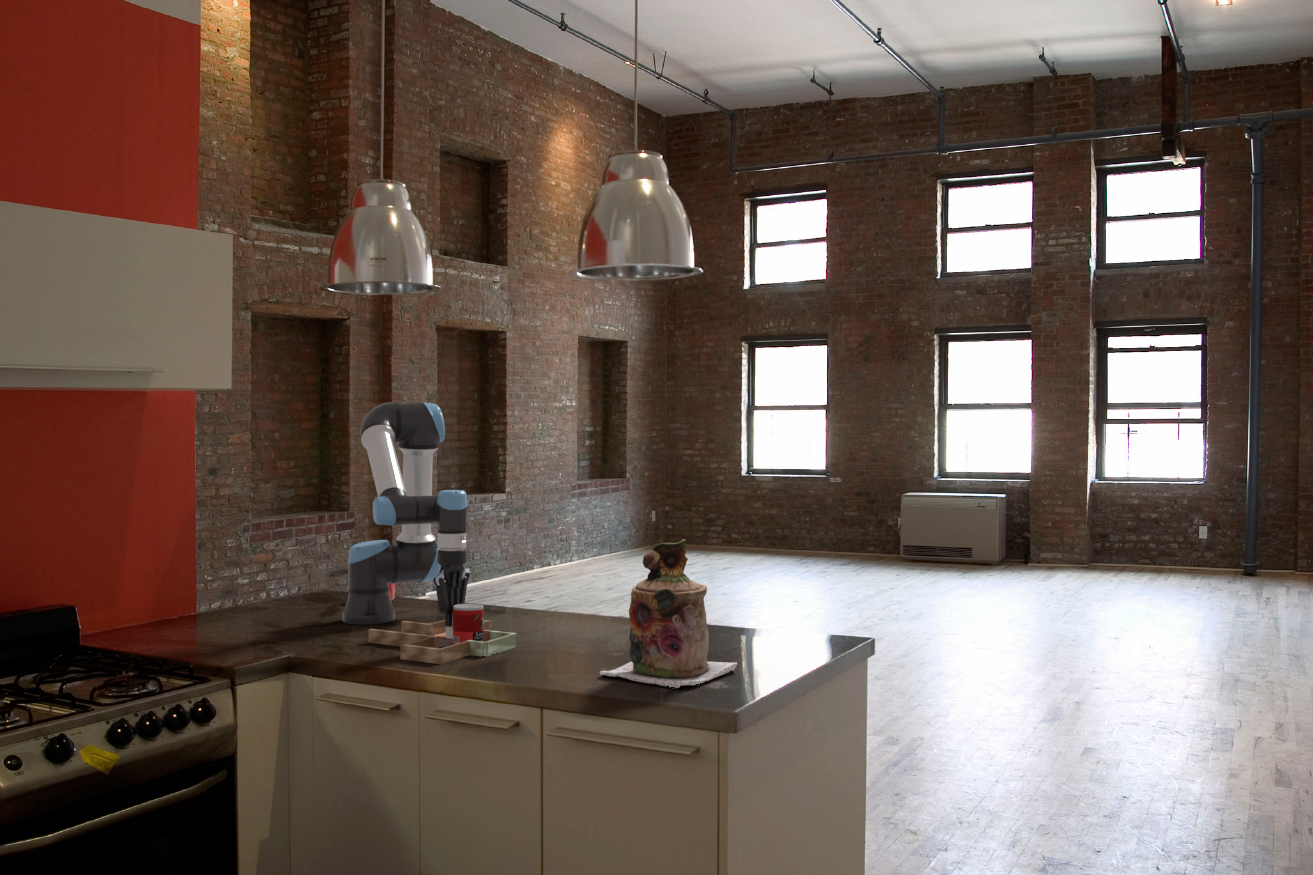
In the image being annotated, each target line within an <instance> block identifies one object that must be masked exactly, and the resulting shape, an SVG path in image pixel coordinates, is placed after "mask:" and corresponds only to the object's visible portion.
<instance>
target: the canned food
mask: <svg viewBox="0 0 1313 875" xmlns="http://www.w3.org/2000/svg"><path fill="white" fill-rule="evenodd" d="M484 612H485V610H484V605H483V604H480V603H464V604H457V605H454V606H453V639H452V645H454V644H457V643H461V642H464V641H468V640H474V641H482V642H483V627H484V620H485V619H484V617H485V616H484V615H485V614H484Z"/></svg>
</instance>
